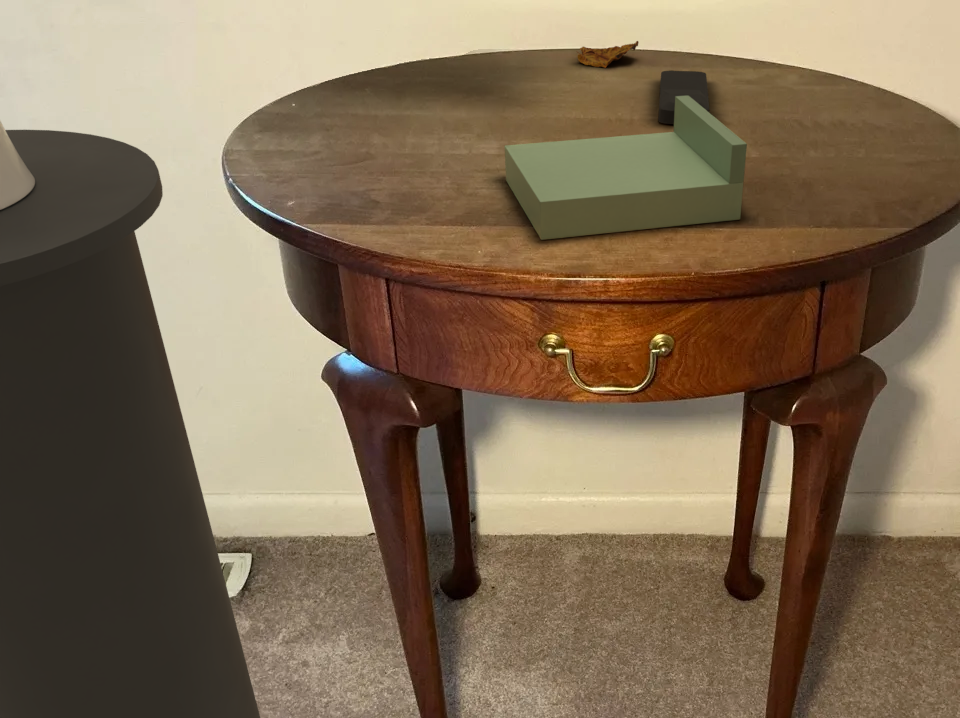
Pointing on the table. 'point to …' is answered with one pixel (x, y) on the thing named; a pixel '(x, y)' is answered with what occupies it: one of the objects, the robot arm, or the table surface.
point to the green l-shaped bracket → (631, 178)
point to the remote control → (681, 91)
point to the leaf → (603, 55)
